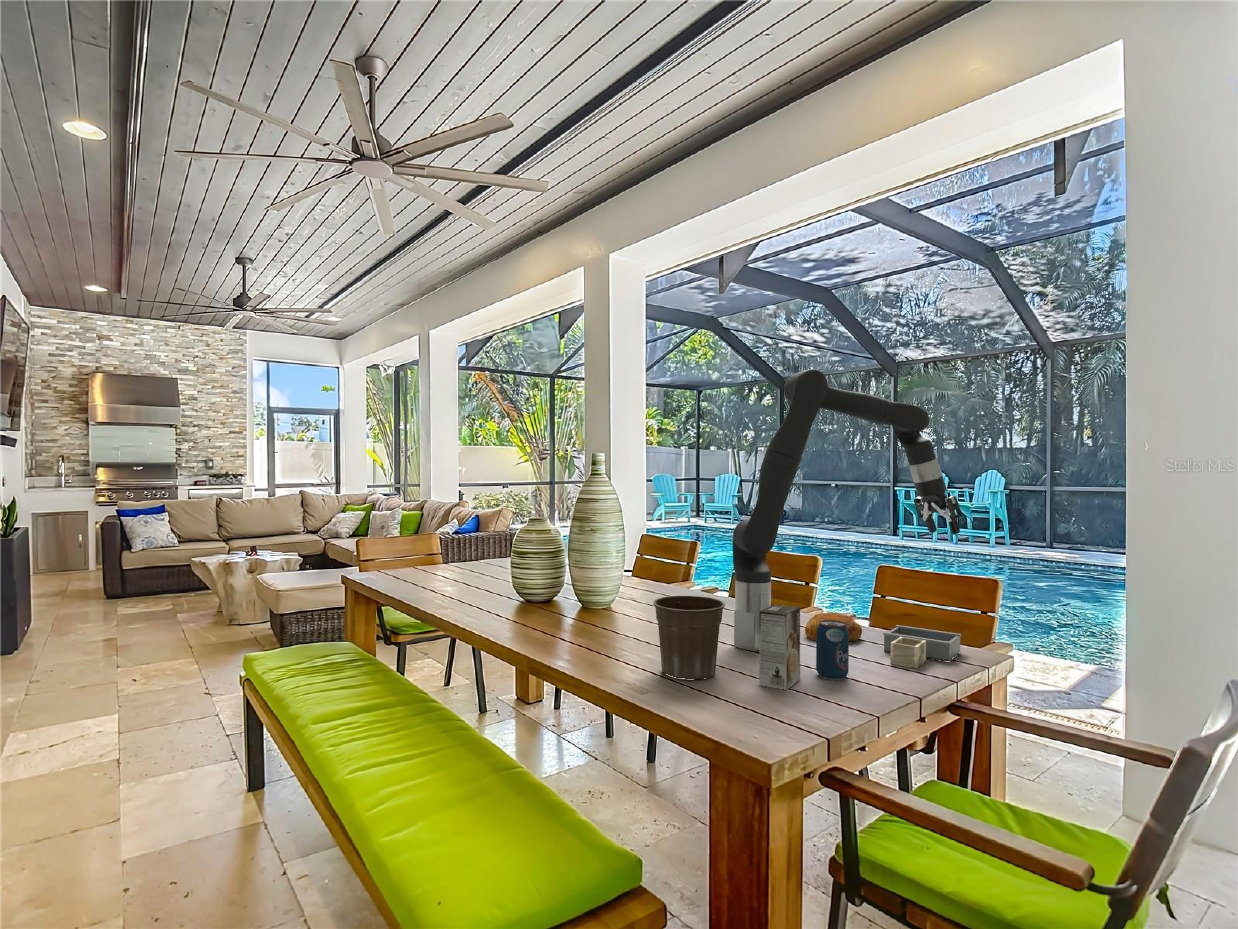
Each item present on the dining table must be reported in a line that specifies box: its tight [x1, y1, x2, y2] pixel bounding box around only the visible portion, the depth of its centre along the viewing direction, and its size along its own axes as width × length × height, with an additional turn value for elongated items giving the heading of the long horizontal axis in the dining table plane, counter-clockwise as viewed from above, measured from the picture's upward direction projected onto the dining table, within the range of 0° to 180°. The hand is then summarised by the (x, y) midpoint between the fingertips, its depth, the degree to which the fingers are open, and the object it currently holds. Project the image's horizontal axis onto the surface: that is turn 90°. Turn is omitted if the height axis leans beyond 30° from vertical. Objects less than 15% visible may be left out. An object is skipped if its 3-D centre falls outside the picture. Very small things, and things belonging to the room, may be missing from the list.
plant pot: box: [652, 595, 726, 680], centre depth 153 cm, size 16×16×16 cm
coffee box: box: [758, 604, 801, 691], centre depth 146 cm, size 9×6×16 cm
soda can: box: [815, 620, 850, 681], centre depth 151 cm, size 7×7×12 cm
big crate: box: [882, 624, 962, 662], centre depth 172 cm, size 12×16×5 cm
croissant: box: [804, 611, 863, 642], centre depth 188 cm, size 14×16×8 cm
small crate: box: [890, 637, 927, 669], centre depth 163 cm, size 8×6×5 cm
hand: (944, 532), depth 186 cm, fingers open, 8 cm apart
